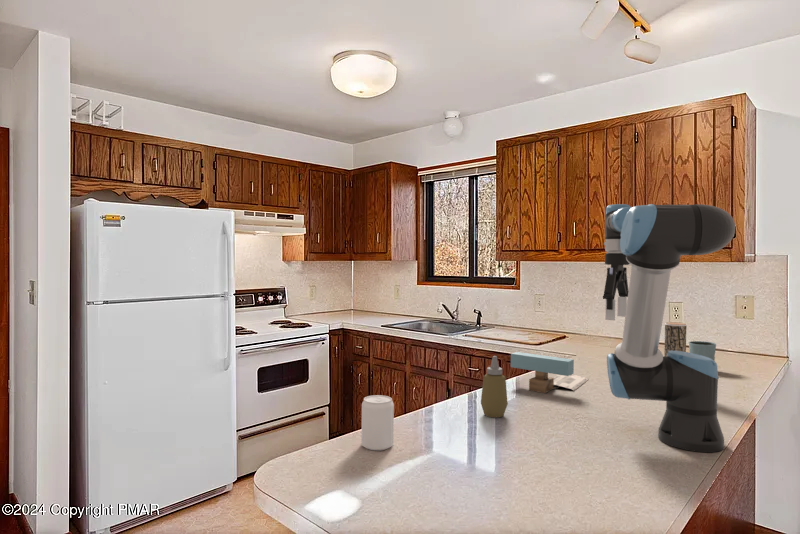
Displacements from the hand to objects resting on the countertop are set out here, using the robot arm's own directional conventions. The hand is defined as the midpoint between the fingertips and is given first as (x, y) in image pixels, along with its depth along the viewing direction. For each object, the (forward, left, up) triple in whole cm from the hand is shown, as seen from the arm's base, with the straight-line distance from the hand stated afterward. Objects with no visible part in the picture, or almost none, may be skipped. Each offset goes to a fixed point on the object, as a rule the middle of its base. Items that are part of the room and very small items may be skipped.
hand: (616, 318), depth 169 cm
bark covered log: (+31, -12, -29) cm, 44 cm away
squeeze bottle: (-34, +26, -29) cm, 52 cm away
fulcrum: (+5, +27, -29) cm, 40 cm away
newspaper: (+20, +24, -30) cm, 43 cm away
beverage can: (-76, +37, -29) cm, 89 cm away
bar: (+5, +27, -22) cm, 35 cm away
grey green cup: (+81, -14, -29) cm, 87 cm away
